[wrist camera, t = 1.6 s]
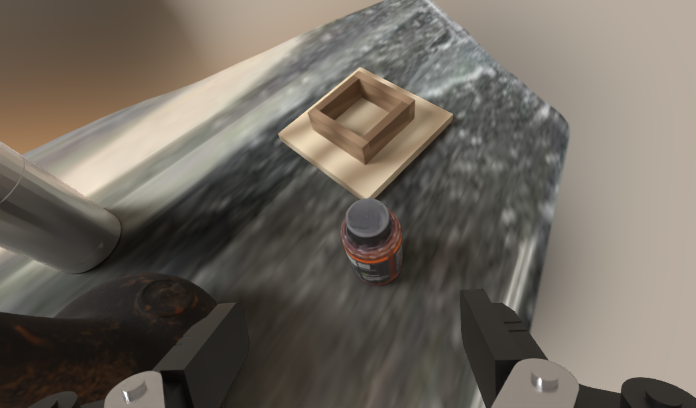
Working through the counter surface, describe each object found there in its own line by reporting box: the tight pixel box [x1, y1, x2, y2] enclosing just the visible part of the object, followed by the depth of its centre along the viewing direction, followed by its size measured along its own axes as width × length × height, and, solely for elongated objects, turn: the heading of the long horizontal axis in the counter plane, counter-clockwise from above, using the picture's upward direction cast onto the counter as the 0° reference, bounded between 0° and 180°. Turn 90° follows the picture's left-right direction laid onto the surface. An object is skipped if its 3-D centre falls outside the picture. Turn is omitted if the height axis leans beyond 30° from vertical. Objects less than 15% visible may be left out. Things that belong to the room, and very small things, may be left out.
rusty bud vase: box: [0, 273, 228, 408], centre depth 24 cm, size 18×18×28 cm
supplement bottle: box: [341, 198, 403, 285], centre depth 35 cm, size 6×6×11 cm
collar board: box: [278, 67, 453, 200], centre depth 48 cm, size 18×18×5 cm
